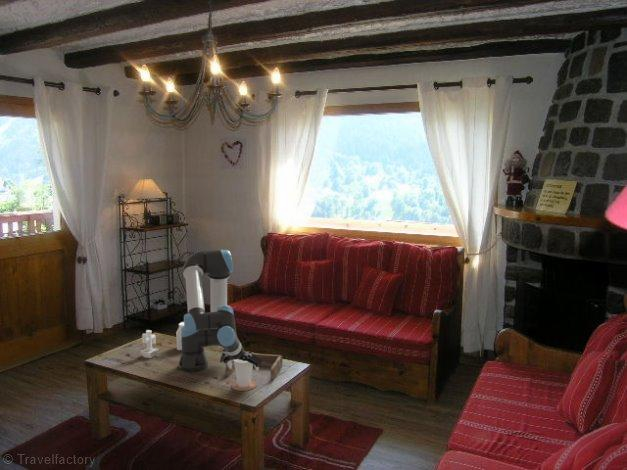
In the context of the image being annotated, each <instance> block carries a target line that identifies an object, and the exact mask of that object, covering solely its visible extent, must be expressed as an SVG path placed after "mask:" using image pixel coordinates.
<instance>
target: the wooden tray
mask: <svg viewBox="0 0 627 470" xmlns="http://www.w3.org/2000/svg"><path fill="white" fill-rule="evenodd" d="M252 354H254V355H255V356H257V357H258V358H260V359H261V360H262V362H261V365H259V367H260V366H261V367H270V380H271V381H275V379H276V378H277V375H278V374H279V372H280V370H281V369H282V368H283V355H280V354H270V353H269V354H267V353H266V354H265V353H254V352H252ZM230 361H231V362H232V368H231V369H230V368H229V367H228V365H226V364H225V376H226V377H230V376H231V375H232V374H233V372H234V371H235V366H234V360H230ZM253 366H254V364H253Z"/></svg>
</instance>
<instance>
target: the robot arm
mask: <svg viewBox="0 0 627 470" xmlns="http://www.w3.org/2000/svg"><path fill="white" fill-rule="evenodd" d="M233 272H234V265H233V258H232V253H231V251H230V250H228V249H217V250H215V249H214V250H212V249H211V250H198V251H195V252H193V253H192V254H190V256H188V257H187V258H186V261H184V264H183V268H182V274H183V278H184V279H185V287H186V288H185V291H186V304H187V313H185V314H184V315H183V322H184V326H183V327H182V329H181V342H182V350H181V355H180V358H179V362H178V369H179V370H180V371H182V372H186V373H187V372H188V373H191V372H193V373H194V372H199V371H203V370H205V369H206V368H208V366H209V361H208V358H207V355H206V352H205V347H206V348H207V347H214V346H215V347H219V346H222V349H223V350H222V354H221V356H220V358H219V359H220V360H219V362H220V363H223V364H225V366H226V365H228V367H229V368H230V369H231V368H232V362H231V361H230V360H236V359H239V360H243V361H247V362H250V363H252V364H254V365H253V367H254V369H255V370H256V371H257V372H259V371H260V370H259V369H260V366H259V365H261V362H262V360H261V359H260V358H258V357H257V356H255V355H254V354H252V353H253V352H252V351H248V352H246V351H244V350H245V349H244V347H243V346H242V343H241V342H240V340H239V338H238V336H237V327H236V321H235V314H234V309H233V307H231V306H230V305H228V279H229V278H230V277H231V273H233ZM205 274H206V275H207V278H209V280H210V281H209V282H210V283H209V284H210V285H209V286H210V312H206V311H205V300H204V299H205V297H204V290H203V278H202V277H203V275H205ZM243 358H244V359H243Z"/></svg>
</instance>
